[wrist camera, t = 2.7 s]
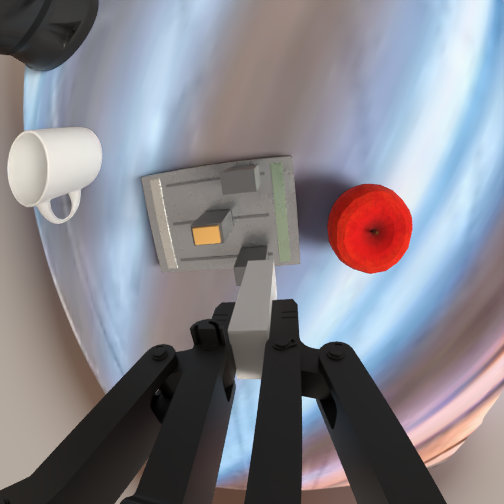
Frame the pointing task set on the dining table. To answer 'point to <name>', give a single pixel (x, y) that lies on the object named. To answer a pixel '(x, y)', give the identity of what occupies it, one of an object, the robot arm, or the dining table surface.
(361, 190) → the apple
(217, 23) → the dining table surface
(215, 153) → the dining table surface
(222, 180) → the block
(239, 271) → the breaker
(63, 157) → the mug
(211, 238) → the block
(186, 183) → the panel
